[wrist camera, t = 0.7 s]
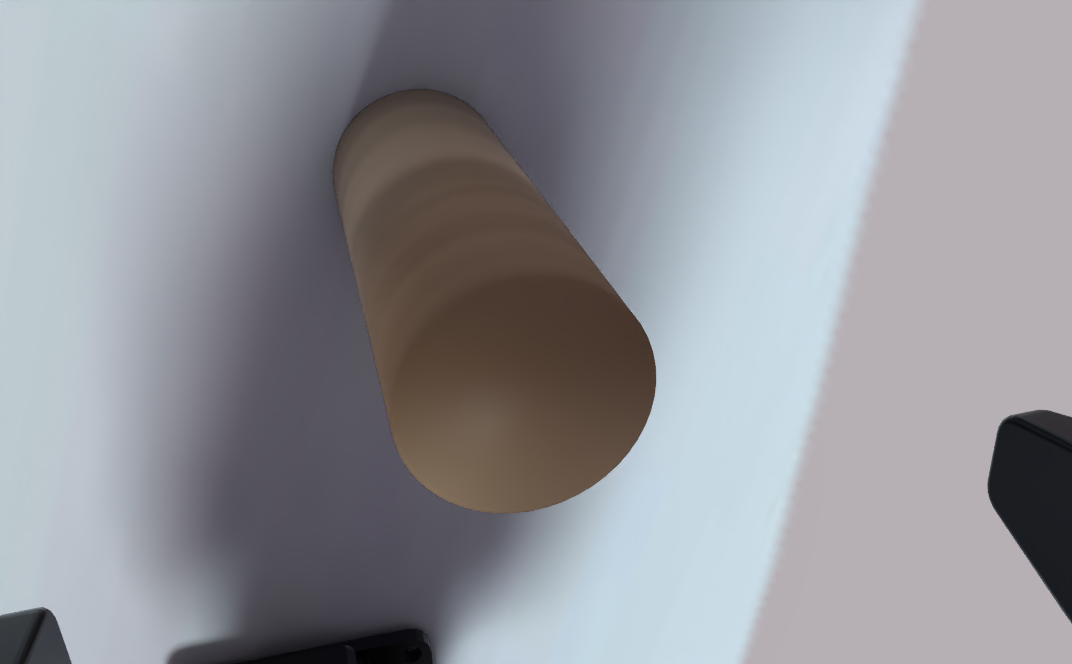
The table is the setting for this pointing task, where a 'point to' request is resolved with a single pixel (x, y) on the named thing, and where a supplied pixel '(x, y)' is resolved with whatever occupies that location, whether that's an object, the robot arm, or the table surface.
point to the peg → (484, 313)
